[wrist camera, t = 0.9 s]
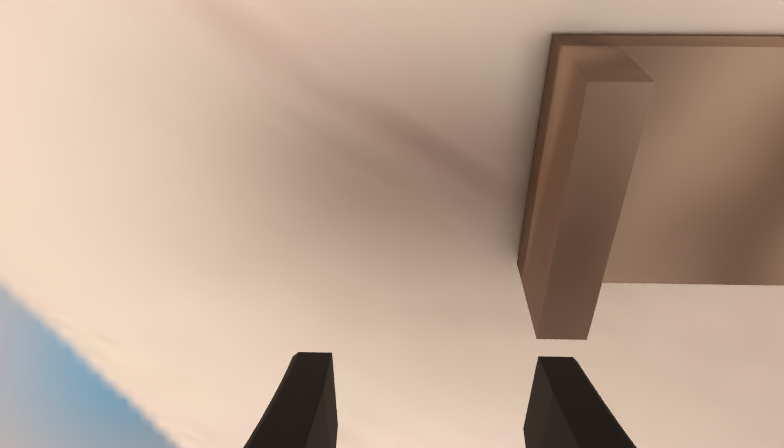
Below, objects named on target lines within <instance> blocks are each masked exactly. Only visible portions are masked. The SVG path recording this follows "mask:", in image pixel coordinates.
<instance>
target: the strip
mask: <svg viewBox="0 0 784 448" xmlns="http://www.w3.org/2000/svg"><path fill="white" fill-rule="evenodd" d="M517 265H518V269H519V273H520V277H521V280H522V284H523V288H524V292H525V296H526V300H527V304H528V308H529V311H530V315H531V319H532V323H533V327H534V331H535V335H536V338H537V339H579V340H587V336H588V333H589V329H590V325H591V322H592V318H593V314H594V310H595V307H596V303H597V299H598V295H599V292H600V288H601V284H602V283H662V284H726V285H784V37H781V36H661V35H553V37H552V43H551V50H550V56H549V63H548V69H547V75H546V82H545V88H544V94H543V101H542V107H541V114H540V120H539V126H538V133H537V139H536V145H535V152H534V158H533V165H532V171H531V177H530V184H529V190H528V196H527V203H526V209H525V216H524V222H523V228H522V235H521V241H520V248H519V254H518V260H517Z"/></svg>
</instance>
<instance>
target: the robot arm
mask: <svg viewBox="0 0 784 448" xmlns="http://www.w3.org/2000/svg"><path fill="white" fill-rule="evenodd" d="M337 428H338V422H337V409H336V397H335V384H334V372H333V359H332V353H316V352H298V353H297V354H296V355H294V356H293V357H292V360H291V362H290V364H289V366H288V369H287V371H286V373H285V375H284V377H283V379H282V381H281V383H280V385H279V387H278V389H277V391H276V393H275V394H274V396H273V398H272V400H271V402H270V404H269V405H268V407H267V409H266V411H265V413H264V414H263V416H262V418H261V420H260V421H259V423H258V425H257V426H256V428H255V430H254V431H253V433H252V435H251V436H250V438H249V440H248V441H247V443H246V444H245V446H244V448H336V441H337ZM523 429H524V437H525V445H526V448H636V446H635V445H634V444H633V442H632V441H631V440H630V438H629V437H628V435H627V434H626V433H625V431H624V430H623V429H622V427H621V426H620V424H619V423H618V422H617V420H616V419H615V417H614V416H613V414H612V413H611V412H610V410H609V409H608V407H607V406H606V404H605V403H604V401H603V400H602V398H601V397H600V396H599V394H598V393H597V391H596V390H595V388H594V387H593V385H592V384H591V382H590V381H589V379H588V377H587V376H586V374H585V373H584V371H583V370H582V368H581V367H580V365H579V364H578V362H577V361H576V360H575V359H574V358H573V357H540V356H538V361H537V366H536V370H535V375H534V380H533V385H532V390H531V395H530V399H529V404H528V409H527V414H526V419H525V424H524V428H523Z"/></svg>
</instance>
